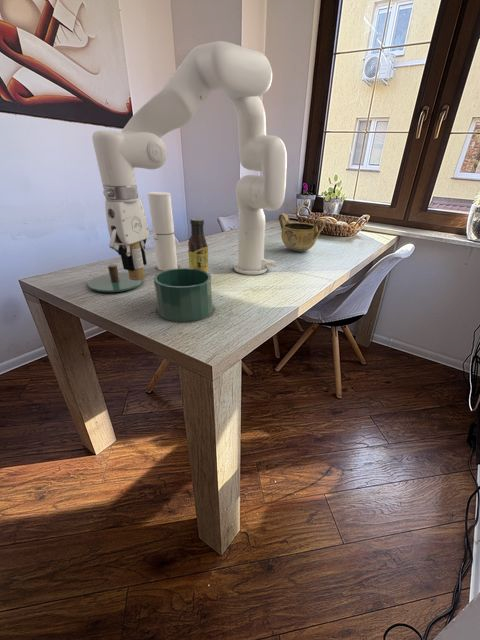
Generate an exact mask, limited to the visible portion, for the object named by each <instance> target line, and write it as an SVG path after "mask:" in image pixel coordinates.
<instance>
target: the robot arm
mask: <svg viewBox="0 0 480 640" xmlns="http://www.w3.org/2000/svg"><path fill="white" fill-rule="evenodd" d="M272 81H273V70H272V66H271V63H270V61H269V59H268V57H267V56H266V55H265V54H264V53H262V52H261V51H258V50H256V49H252V48H249V47H245V46H242V45H239V44H235V43H232V42H229V41H225V40H224V41H223V40H217V41H212V42H208V43H204V44H199V45H197V46H195V47H193V48H192V49H191V50H190V51H189V52H188V53H187V55H186V56H185V58H184V59H183V60H182V62H181V63H180V64H179V65H178V67H177V69H176V70H175V71H174V73H173V74H172V75H171V77H170V78H169V79H168V80H167V81H166V83H165V84H164V86H162V88H161V89H160V90H159V91H158V92H157V93H155V94H154V95H153V96H152V97H151V98H150V99H149V100H148V101H147V102H146V103H144V105H142V106H141V107H140V108H139V109H138V110H137V111H136V112H135V113H134V114H133V115H132V116H131V118H130V119H129V120H128V122H127V123H126V124H125V125H124V127H123V128H122V130H121V131H115V130H96V131H94V132H93V133H92V144H93V148H94V149H93V150H94V153H95V157H96V162H97V167H98V172H99V175H100V180H101V184H102V189H103V191H102V194H103V196H104V198H105V201H104V206H105V217H106V223H107V230H108V234H109V237H110V240H109V245H108V246H109V248H110V249H112V250H114V251H115V252H117V254H118V256H120V259H121V264H122V268H123V270H126V271H128V270H130V271H134V270H135V267H134V262H133V257H132V256H131V255H130V245H131V244H134V243H137V242H139V243H140V247H141V253H142V259H143V265H144V266H146V265H147V264H148V263H147V262H148V261H147V258H146V257H147V256H146V252H145V250H146V243H147V240H148V238H149V237H150V231H149V225H148V220H147V215H146V212H145V208H144V205H143V203H142V200H141V198H140V197H139V191H138V186H137V181H136V174H135V169H136V168H138V169H144V170H157V169H160V168H162V167H163V166H164V165H165V163H166V162H167V160H168V149H167V146H166V144H165V142H164V140H162V139H161V138H162V137H164V136H165V135H167V134H168V133H170V132H172V131H176V130H177V129H180V128H182V127H184V126H185V125H187V124H188V123H190V122H191V121H192V120H193V118H194V117H195V116H196V114H197V113H198V112H199V110H200V109H201V108H202V106H203V105H204V104H205V102H206V101H207V99H208V98H209V97H210V95H211V94H212V93H213V92H214V91H218V90H221V92H222V93H223V94H224V95H225V96H226V98H227V99H228V100H229V102H230V103H231V105H232V107H233V109H234V112H235V114H236V120H237V136H238V137H237V138H238V157H239V159H238V160H239V162H240V165H241V166H242V167H243V168H244V169H246V170H248V171H254V172H261V173H262V175H256V174H246V175H244V176H242V177H240V178H239V180H238V181H237V184H236V187H235V197H236V204H237V212H238V232H237V233H238V236H237V237H238V238H237V239H238V241H237V243H238V244H237V247H238V248H237V262H236V263H235V264H234V265H233V270H234V271H235V272H237V273H239V274H242V275H250V276H251V275H253V276H255V275H263V274H265V273H266V272H267V271H268V267H276V265H277V264H276V260H273V259H266V258H265V256H264V255H265V237H266V216H265V212H264V210H266V211H269V212H270V211H271V212H273V211H277V210H280V208H281V207H282V206H283V204H284V201H285V196H286V190H287V189H286V188H287V187H286V186H287V167H288V165H287V164H288V158H287V157H288V155H287V149H286V145H285V143H284V141H283V140H282V139H281V138H280V137H279V136H277V135H274V134H273V135H272V134H267V121H266V120H267V119H266V110H265V107H264V103H263V102H262V99H261V96H263V95H265V94H266V93H267V92H268V91H269V90H270V87H271V85H272ZM123 246H125V249H124V248H123Z"/></svg>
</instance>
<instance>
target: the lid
mask: <svg viewBox="0 0 480 640" xmlns="http://www.w3.org/2000/svg"><path fill="white" fill-rule="evenodd" d="M107 269H108V273H106V274H102V275H97V276H96V277H95V276H94V277H93V278H91V279H90V280H89V281H88V283H87V285H88V288H89V289H90V290H93V291H95V292H100V293H119V292H124V291H128V290H132V289H135V288H138V287H139V286H140V285H141V284H142V283H143V279H142V280H131V279H129V274H128V272H119V269H118V265H117V264H114V263H113V264H111V263H110V264H109V265H107Z"/></svg>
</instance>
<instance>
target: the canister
mask: <svg viewBox="0 0 480 640" xmlns="http://www.w3.org/2000/svg"><path fill="white" fill-rule="evenodd" d="M212 283H213V282H212V275H211V274H210V273H209V272H208V273H207V272H205V271H203V270H198V269H191V268H189V267H179V268H178V267H177V268H176V269H169V270H166V271H163V270H161V271H160V272H158V273H156V274H155V275H154V276H153V286H154V291H155V299H156V307H157V311H158V314H159V316H160V317H161V318H163V319H164V320H167V321H171V322H176V323H177V322H178V323H189V322H196V321H201V320H203V319H205V318H207V317H208V316H210V315H211V314H212V312H213V286H212Z"/></svg>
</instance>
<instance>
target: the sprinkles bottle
mask: <svg viewBox="0 0 480 640" xmlns="http://www.w3.org/2000/svg"><path fill="white" fill-rule="evenodd" d="M123 248H124V249H125V246H123ZM130 255H131V256H132V257H133V262H134V267H135V270H134V271H130V270H127V273H128V274H129V279H131V280H142V281H143V280H144V279H146V273H145V268H144V266H145V265H143V259H142V253H141V247H140V243H139V242H137V243H134V244H131V245H130Z"/></svg>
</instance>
